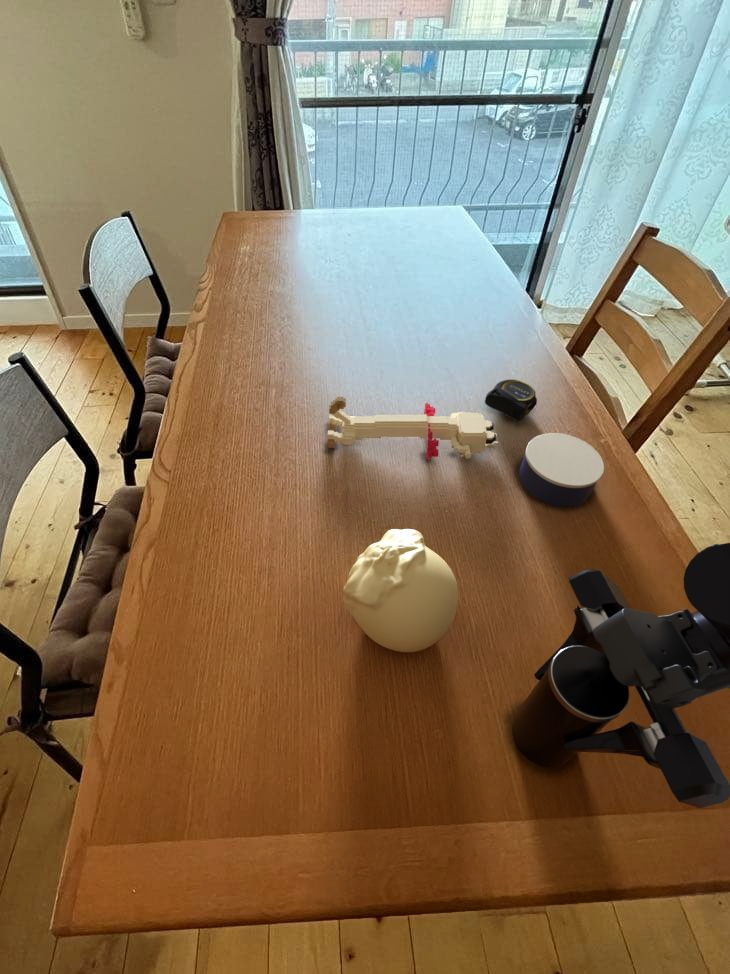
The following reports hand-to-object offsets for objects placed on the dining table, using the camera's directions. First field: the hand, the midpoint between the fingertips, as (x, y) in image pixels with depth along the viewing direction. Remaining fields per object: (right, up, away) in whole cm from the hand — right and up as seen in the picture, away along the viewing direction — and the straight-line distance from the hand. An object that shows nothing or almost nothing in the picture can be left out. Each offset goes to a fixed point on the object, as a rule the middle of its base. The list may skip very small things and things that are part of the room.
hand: (549, 711), depth 50 cm
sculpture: (-12, +5, +14) cm, 19 cm away
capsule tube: (+1, -4, +5) cm, 7 cm away
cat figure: (-7, +26, +34) cm, 44 cm away
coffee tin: (+13, +21, +29) cm, 38 cm away
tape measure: (+10, +32, +40) cm, 52 cm away
